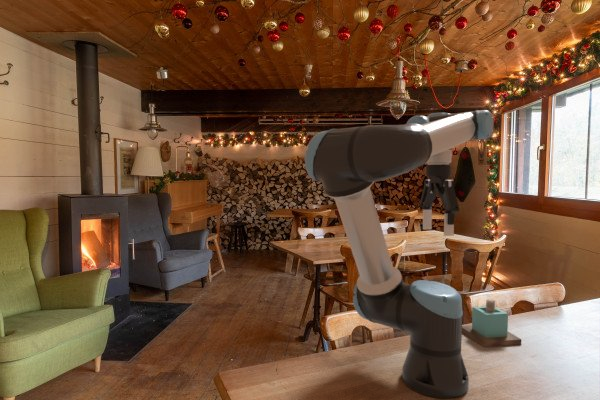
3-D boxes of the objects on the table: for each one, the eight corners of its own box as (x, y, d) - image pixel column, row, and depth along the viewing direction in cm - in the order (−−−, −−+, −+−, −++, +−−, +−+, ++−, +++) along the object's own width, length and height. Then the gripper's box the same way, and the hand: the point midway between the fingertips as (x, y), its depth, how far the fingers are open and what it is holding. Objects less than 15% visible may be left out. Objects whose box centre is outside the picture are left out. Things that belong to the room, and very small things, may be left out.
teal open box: (485, 337, 116) (486, 314, 115) (472, 328, 123) (472, 306, 122) (507, 336, 117) (508, 313, 116) (492, 327, 124) (493, 305, 123)
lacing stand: (483, 347, 113) (484, 308, 112) (460, 330, 125) (461, 295, 124) (521, 344, 115) (522, 305, 114) (494, 328, 127) (495, 293, 126)
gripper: (473, 162, 110) (471, 238, 111) (430, 165, 134) (429, 226, 135) (448, 162, 108) (446, 238, 110) (409, 165, 133) (409, 227, 134)
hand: (437, 232), depth 123 cm, fingers open, 13 cm apart
